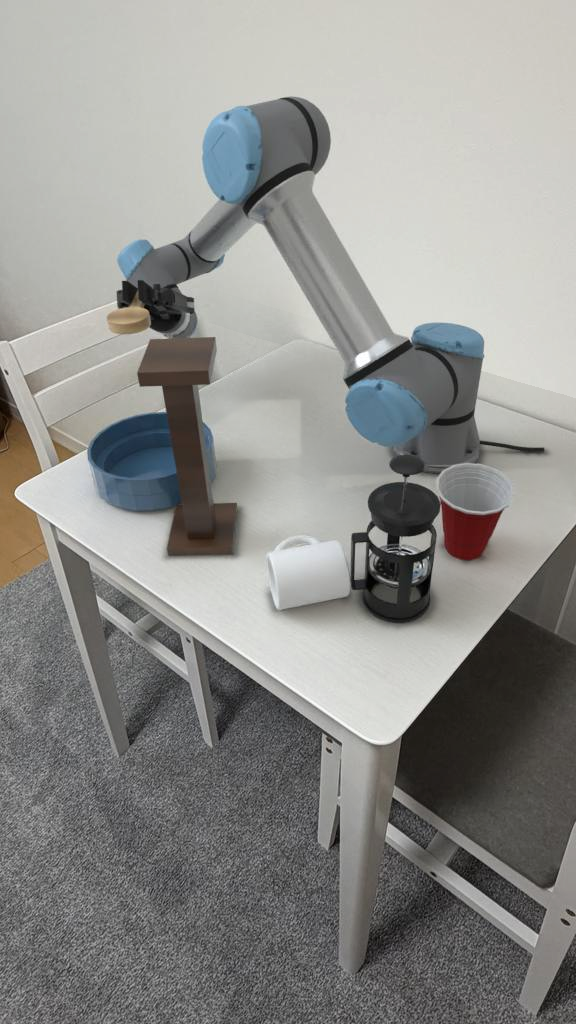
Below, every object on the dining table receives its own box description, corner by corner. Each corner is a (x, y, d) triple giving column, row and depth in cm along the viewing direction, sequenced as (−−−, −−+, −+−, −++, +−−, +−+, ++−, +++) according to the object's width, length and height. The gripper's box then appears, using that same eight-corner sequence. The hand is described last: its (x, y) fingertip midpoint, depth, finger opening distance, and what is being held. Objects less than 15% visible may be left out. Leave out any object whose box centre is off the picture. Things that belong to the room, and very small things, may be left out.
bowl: (221, 442, 129) (217, 410, 125) (210, 512, 112) (206, 478, 108) (110, 446, 130) (102, 413, 125) (83, 515, 113) (73, 481, 109)
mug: (350, 608, 94) (351, 565, 89) (279, 622, 93) (277, 579, 88) (326, 552, 104) (326, 511, 99) (262, 564, 102) (258, 523, 97)
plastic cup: (435, 575, 99) (443, 510, 91) (422, 527, 107) (429, 464, 100) (510, 572, 99) (525, 507, 91) (492, 524, 107) (504, 461, 100)
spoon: (127, 291, 109) (125, 281, 108) (165, 290, 109) (163, 280, 108) (104, 335, 96) (102, 324, 95) (147, 333, 96) (145, 322, 95)
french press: (427, 572, 99) (443, 438, 85) (441, 620, 92) (462, 482, 78) (346, 577, 99) (349, 443, 85) (354, 626, 92) (359, 488, 78)
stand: (177, 511, 113) (147, 337, 94) (237, 509, 113) (219, 335, 94) (167, 556, 104) (132, 374, 85) (233, 554, 104) (211, 372, 85)
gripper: (206, 332, 124) (183, 315, 100) (126, 335, 124) (84, 317, 101) (204, 289, 123) (181, 261, 99) (123, 292, 123) (81, 264, 100)
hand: (132, 290), depth 100 cm, fingers closed on spoon, 2 cm apart
